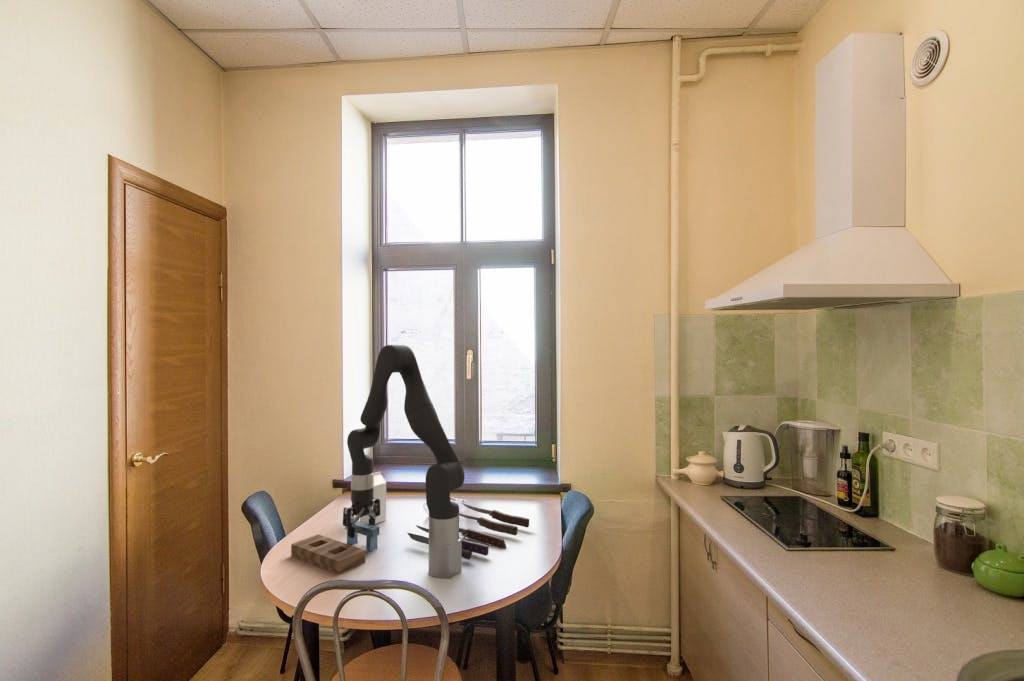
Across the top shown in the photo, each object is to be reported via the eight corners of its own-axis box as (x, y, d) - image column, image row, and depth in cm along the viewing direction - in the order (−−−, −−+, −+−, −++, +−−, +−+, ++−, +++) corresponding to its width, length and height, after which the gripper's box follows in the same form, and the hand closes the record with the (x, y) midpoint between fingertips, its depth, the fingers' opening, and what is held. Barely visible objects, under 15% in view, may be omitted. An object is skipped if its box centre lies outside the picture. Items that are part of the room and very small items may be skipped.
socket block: (365, 562, 153) (365, 549, 153) (338, 574, 145) (338, 561, 145) (317, 546, 166) (318, 534, 166) (291, 556, 158) (291, 544, 158)
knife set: (460, 512, 198) (461, 494, 197) (531, 532, 181) (531, 512, 180) (399, 544, 168) (400, 521, 167) (477, 571, 151) (477, 546, 150)
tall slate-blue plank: (379, 549, 164) (379, 527, 164) (372, 552, 161) (372, 530, 161) (351, 540, 171) (352, 519, 171) (344, 543, 169) (345, 521, 169)
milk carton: (386, 520, 192) (386, 472, 192) (371, 525, 186) (372, 476, 186) (374, 517, 196) (374, 469, 196) (359, 522, 190) (360, 473, 190)
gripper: (352, 493, 158) (352, 542, 158) (385, 483, 170) (385, 529, 170) (338, 489, 163) (337, 537, 162) (371, 480, 175) (370, 525, 174)
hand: (361, 533), depth 166 cm, fingers open, 8 cm apart
